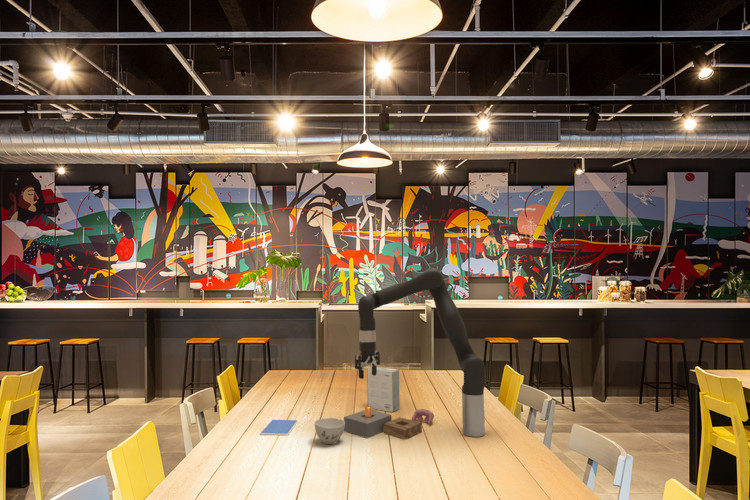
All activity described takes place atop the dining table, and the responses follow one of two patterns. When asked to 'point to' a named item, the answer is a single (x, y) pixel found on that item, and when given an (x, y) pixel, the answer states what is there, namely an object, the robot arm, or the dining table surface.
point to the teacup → (329, 429)
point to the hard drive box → (383, 389)
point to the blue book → (279, 427)
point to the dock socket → (366, 423)
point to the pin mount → (402, 428)
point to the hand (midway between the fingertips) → (367, 376)
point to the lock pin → (367, 411)
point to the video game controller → (423, 412)
